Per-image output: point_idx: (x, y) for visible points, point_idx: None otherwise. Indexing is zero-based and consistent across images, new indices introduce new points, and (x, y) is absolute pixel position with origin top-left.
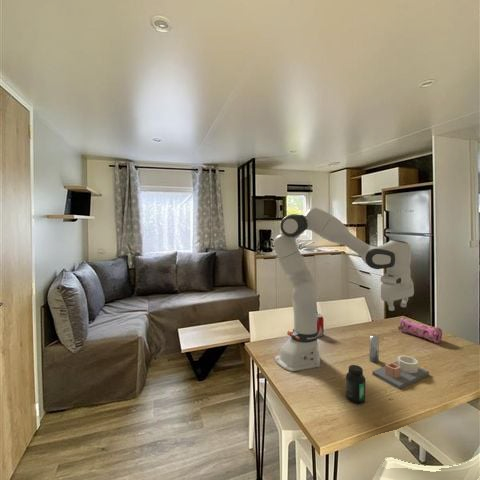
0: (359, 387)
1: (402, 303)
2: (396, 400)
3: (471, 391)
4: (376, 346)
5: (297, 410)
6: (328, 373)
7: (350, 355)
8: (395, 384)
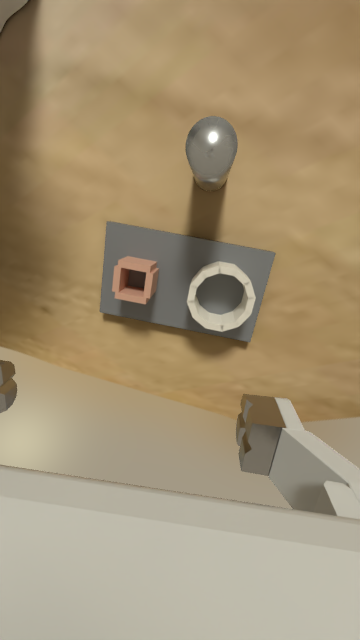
0: None
1: (250, 442)
2: (53, 321)
3: None
4: (198, 178)
5: None
6: None
7: (177, 70)
8: (101, 300)
